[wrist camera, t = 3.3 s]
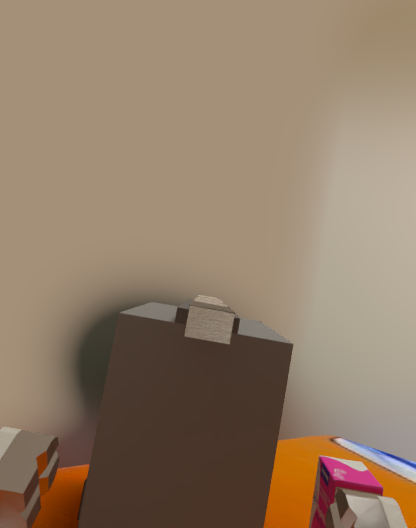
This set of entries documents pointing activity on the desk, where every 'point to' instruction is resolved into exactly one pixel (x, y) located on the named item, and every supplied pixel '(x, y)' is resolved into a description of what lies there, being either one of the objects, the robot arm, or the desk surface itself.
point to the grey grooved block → (186, 425)
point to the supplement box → (339, 485)
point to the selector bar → (209, 320)
